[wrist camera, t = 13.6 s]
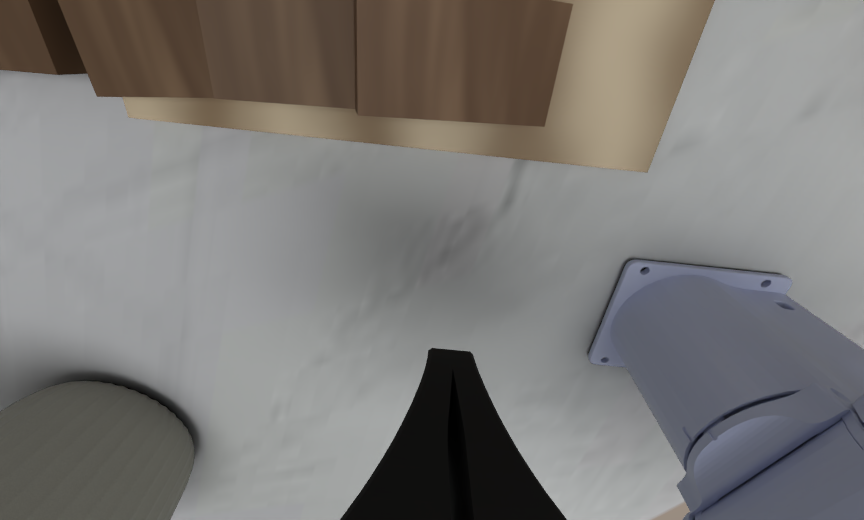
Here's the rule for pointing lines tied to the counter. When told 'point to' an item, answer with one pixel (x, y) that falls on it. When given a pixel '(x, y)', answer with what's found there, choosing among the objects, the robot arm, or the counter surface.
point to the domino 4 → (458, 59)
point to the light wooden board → (556, 142)
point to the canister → (91, 455)
